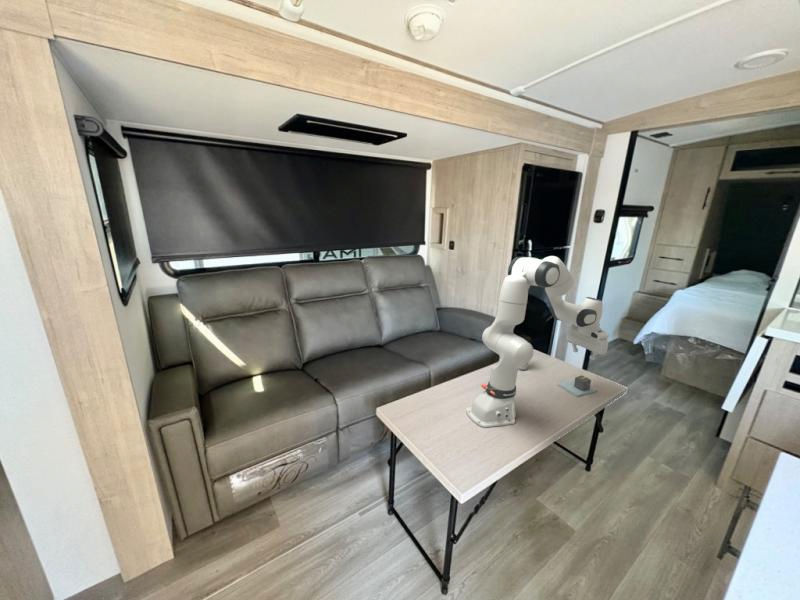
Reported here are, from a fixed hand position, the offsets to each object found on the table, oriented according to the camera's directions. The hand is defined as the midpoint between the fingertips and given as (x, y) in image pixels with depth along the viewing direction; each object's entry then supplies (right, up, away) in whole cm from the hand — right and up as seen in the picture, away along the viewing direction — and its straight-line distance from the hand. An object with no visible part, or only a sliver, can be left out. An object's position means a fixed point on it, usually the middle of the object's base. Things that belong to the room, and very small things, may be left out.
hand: (583, 355), depth 157 cm
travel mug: (-20, -13, +28) cm, 37 cm away
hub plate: (0, -18, +6) cm, 19 cm away
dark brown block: (+2, -18, +5) cm, 18 cm away
